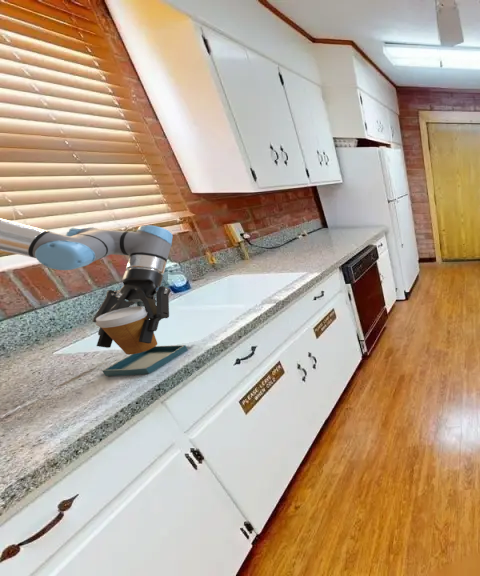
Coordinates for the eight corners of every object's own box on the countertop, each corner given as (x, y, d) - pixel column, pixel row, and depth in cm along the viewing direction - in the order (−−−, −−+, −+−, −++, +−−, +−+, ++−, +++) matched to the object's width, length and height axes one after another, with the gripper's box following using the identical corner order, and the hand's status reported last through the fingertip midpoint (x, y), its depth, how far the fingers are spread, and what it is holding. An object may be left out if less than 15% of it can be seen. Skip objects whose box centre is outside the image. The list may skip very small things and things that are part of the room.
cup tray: (105, 376, 84) (101, 370, 83) (149, 351, 95) (146, 346, 94) (149, 374, 85) (146, 369, 84) (188, 350, 96) (185, 345, 95)
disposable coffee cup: (131, 343, 90) (109, 309, 85) (172, 336, 94) (153, 303, 89) (107, 361, 82) (82, 324, 77) (153, 353, 86) (131, 317, 81)
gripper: (196, 274, 97) (181, 342, 89) (114, 280, 92) (91, 351, 84) (176, 264, 90) (158, 336, 82) (86, 270, 85) (58, 347, 78)
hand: (124, 344), depth 83 cm, fingers closed on disposable coffee cup, 9 cm apart
